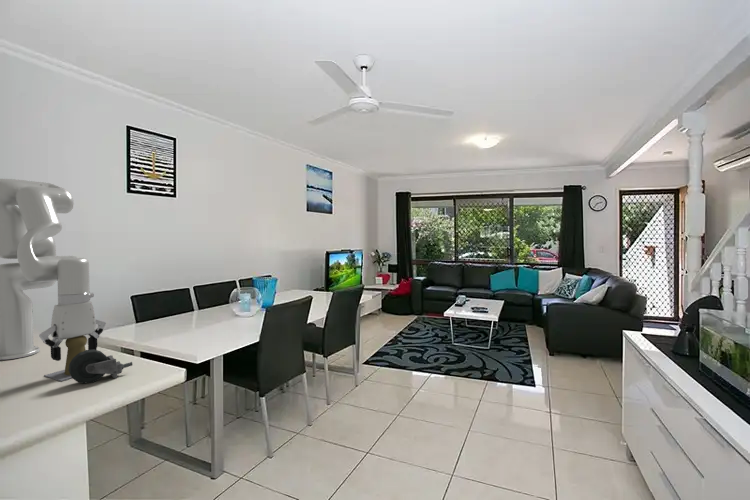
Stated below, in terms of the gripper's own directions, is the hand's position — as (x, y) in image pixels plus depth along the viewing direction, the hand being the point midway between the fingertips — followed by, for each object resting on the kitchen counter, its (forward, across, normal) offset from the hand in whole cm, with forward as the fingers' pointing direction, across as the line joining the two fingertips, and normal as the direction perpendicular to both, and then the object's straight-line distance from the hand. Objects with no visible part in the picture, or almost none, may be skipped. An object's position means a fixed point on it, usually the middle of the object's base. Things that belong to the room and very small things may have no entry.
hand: (75, 355), depth 117 cm
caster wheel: (+6, -1, +12) cm, 13 cm away
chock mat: (+6, 0, -1) cm, 6 cm away
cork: (+5, 0, 0) cm, 5 cm away
